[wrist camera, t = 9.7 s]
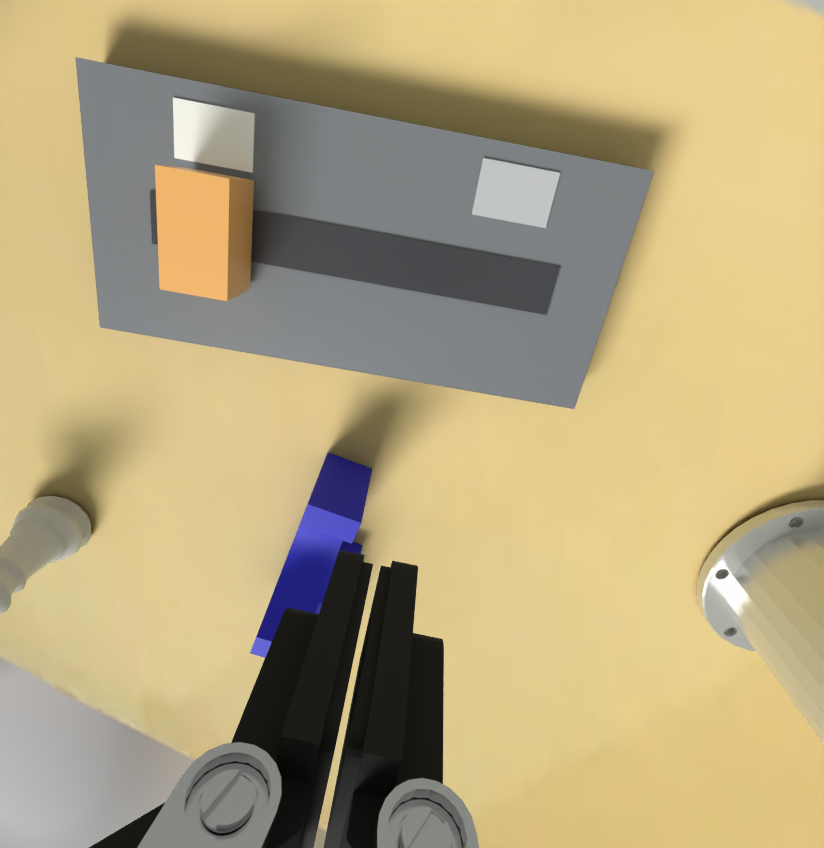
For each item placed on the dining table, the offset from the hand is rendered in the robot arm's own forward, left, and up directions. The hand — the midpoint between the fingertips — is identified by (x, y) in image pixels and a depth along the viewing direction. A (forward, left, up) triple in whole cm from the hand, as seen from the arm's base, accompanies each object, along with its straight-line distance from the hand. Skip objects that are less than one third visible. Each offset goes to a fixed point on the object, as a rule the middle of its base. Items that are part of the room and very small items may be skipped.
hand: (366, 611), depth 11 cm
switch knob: (+10, -5, -18) cm, 21 cm away
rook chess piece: (+21, +16, -20) cm, 34 cm away
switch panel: (+3, -5, -20) cm, 21 cm away
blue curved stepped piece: (+3, +14, -21) cm, 25 cm away
